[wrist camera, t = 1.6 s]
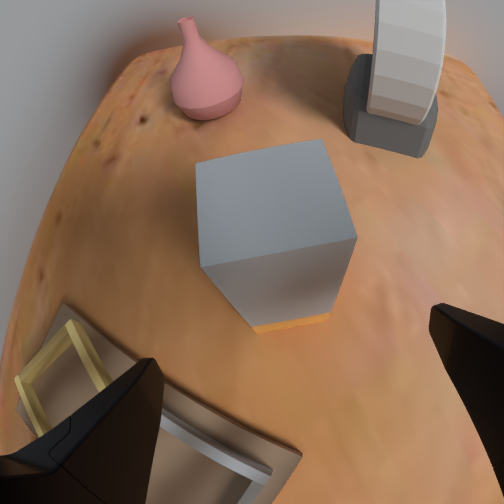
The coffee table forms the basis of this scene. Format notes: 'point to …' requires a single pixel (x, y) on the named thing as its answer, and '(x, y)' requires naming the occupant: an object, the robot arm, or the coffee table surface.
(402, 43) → the alarm clock
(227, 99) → the pink vase
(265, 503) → the station board
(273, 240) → the grey square pillar
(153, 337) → the coffee table surface
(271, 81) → the coffee table surface
